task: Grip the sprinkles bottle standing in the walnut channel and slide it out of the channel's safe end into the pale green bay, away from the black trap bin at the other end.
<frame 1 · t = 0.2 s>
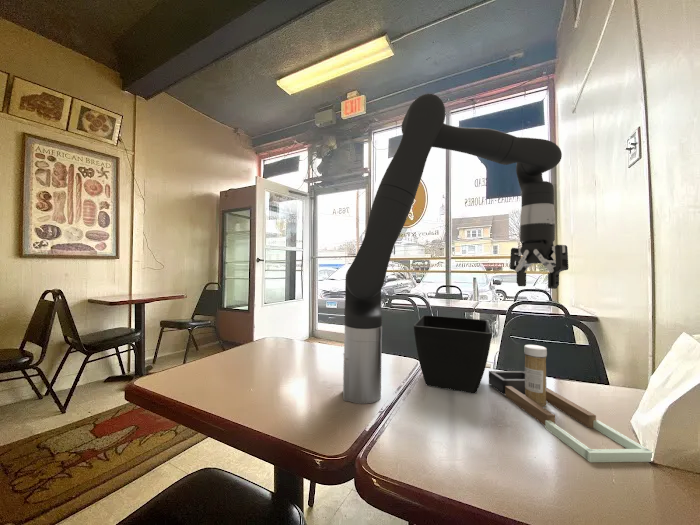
hand: (536, 287, 75), 27 cm above the table, fingers open, 8 cm apart
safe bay: (593, 442, 54), on the table
sprinkles bottle: (535, 404, 70), on the table
channel: (545, 410, 67), on the table
trap bin: (513, 388, 79), on the table
flower pot: (451, 383, 83), on the table
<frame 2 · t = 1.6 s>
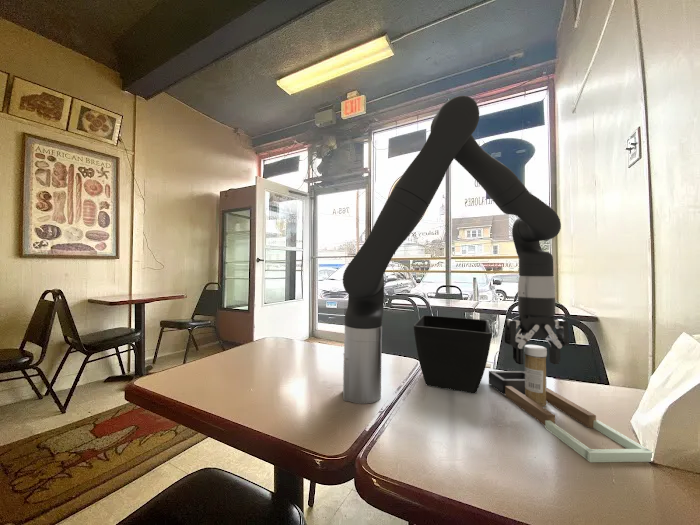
hand: (536, 363, 70), 9 cm above the table, fingers open, 8 cm apart
nothing on the table moved.
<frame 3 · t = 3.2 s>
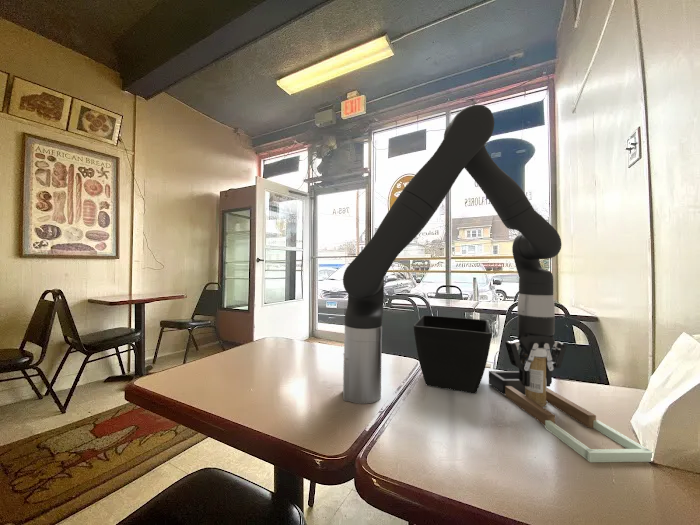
hand: (535, 384, 70), 4 cm above the table, fingers closed on sprinkles bottle, 4 cm apart
sprinkles bottle: (535, 404, 70), on the table, touching gripper
everything else where it was.
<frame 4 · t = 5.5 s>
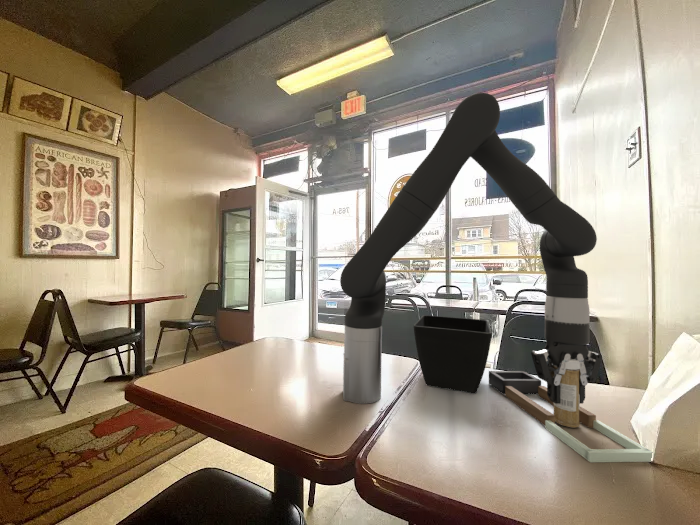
hand: (566, 401, 61), 5 cm above the table, fingers closed on sprinkles bottle, 4 cm apart
sprinkles bottle: (565, 423, 61), on the table, touching gripper
everything else where it was.
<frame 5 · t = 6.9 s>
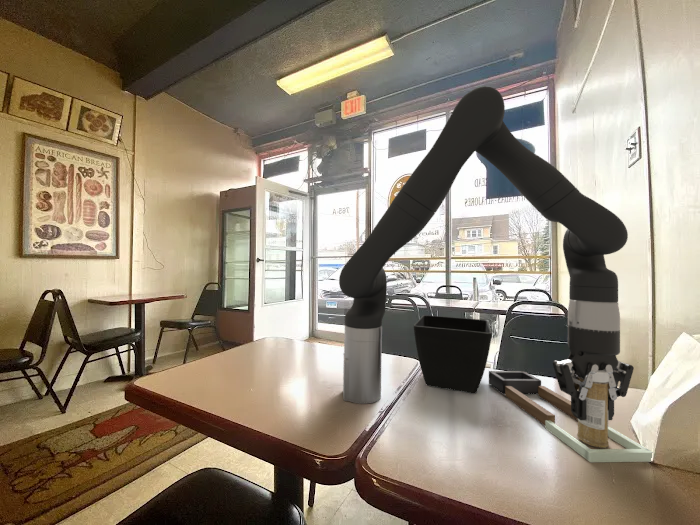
hand: (592, 417, 55), 4 cm above the table, fingers closed on sprinkles bottle, 4 cm apart
sprinkles bottle: (592, 442, 54), on the table, touching gripper
everything else where it was.
when the fingers open (4 cm above the table, at t = 7.8 s): sprinkles bottle stays where it is, on the table.
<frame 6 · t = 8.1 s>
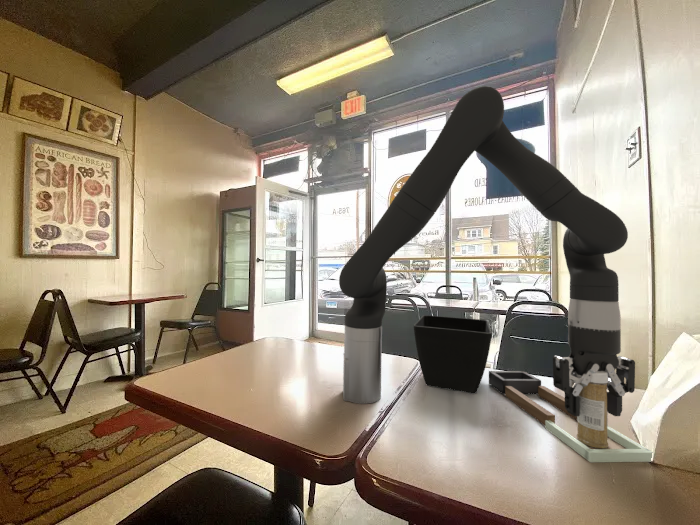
hand: (593, 414, 54), 5 cm above the table, fingers open, 7 cm apart
sprinkles bottle: (591, 443, 54), on the table
everything else where it was.
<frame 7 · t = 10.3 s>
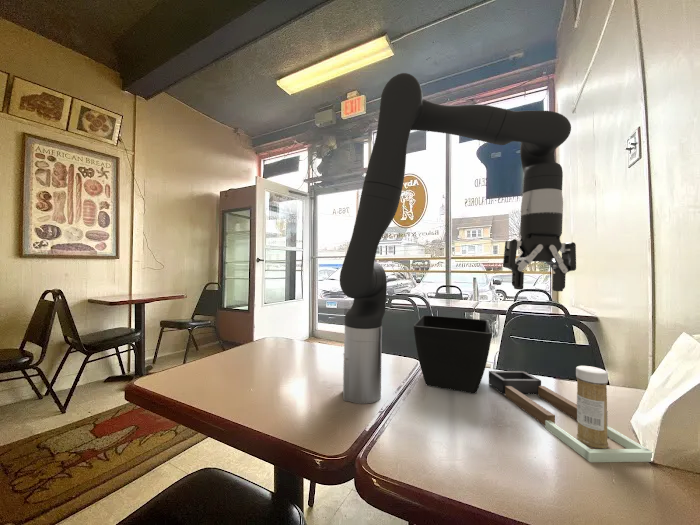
hand: (538, 290, 63), 27 cm above the table, fingers open, 8 cm apart
nothing on the table moved.
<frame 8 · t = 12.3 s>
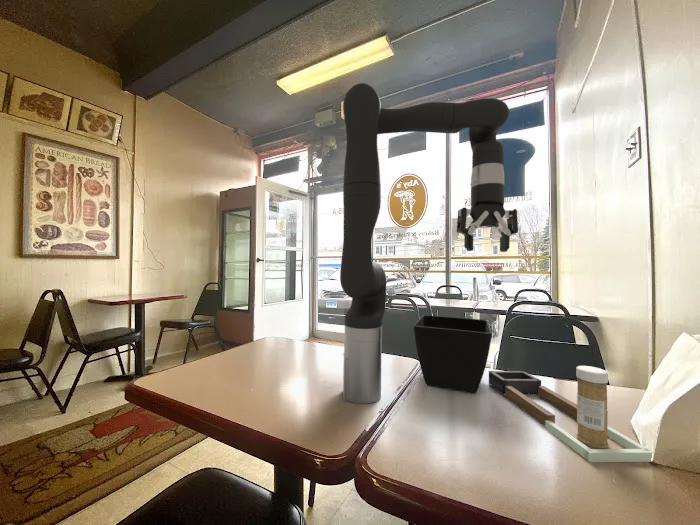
hand: (486, 251, 73), 36 cm above the table, fingers open, 8 cm apart
nothing on the table moved.
at the end: sprinkles bottle inside the target area on the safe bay (0.3 cm from its centre), point 0.0 cm above the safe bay's base; sprinkles bottle tilted 0°; the gripper is holding nothing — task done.
